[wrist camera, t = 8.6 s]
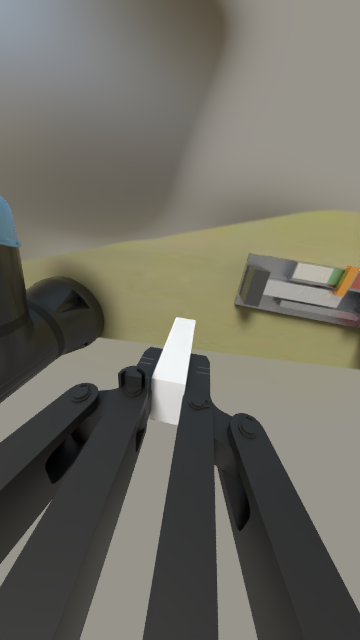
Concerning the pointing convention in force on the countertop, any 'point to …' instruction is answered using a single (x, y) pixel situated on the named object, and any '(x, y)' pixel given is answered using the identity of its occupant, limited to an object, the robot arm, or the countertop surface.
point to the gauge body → (351, 310)
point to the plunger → (292, 288)
